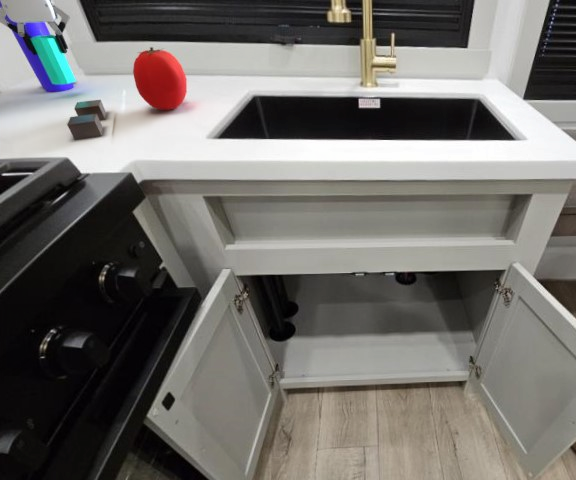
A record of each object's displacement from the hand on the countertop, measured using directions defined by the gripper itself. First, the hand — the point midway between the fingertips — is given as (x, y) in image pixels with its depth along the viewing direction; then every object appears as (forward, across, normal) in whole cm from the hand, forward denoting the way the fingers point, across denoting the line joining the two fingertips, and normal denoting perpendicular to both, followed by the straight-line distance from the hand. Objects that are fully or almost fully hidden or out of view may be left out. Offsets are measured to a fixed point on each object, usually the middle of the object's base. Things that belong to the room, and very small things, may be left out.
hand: (50, 52), depth 87 cm
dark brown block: (+11, -9, +28) cm, 31 cm away
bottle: (+11, +4, -10) cm, 15 cm away
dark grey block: (+11, -9, +39) cm, 41 cm away
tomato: (+10, -26, +25) cm, 37 cm away
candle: (+7, 0, 0) cm, 7 cm away
